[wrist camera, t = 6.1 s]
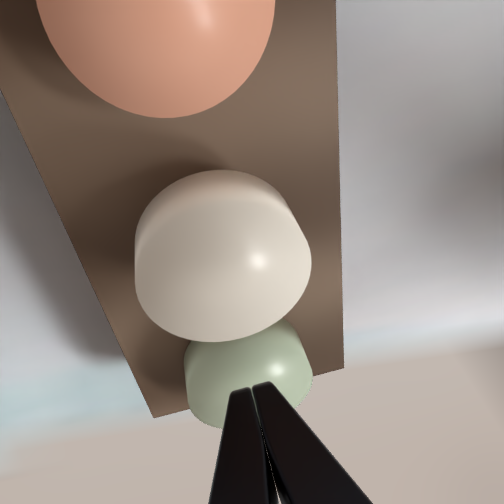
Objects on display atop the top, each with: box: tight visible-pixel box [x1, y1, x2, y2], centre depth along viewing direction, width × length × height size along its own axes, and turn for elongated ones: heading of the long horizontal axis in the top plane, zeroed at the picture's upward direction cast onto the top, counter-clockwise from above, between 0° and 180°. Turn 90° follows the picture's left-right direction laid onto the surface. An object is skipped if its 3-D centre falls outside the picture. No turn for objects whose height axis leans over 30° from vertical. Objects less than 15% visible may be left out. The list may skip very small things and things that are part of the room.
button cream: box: [135, 170, 311, 342], centre depth 12 cm, size 4×4×2 cm
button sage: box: [184, 318, 313, 429], centre depth 17 cm, size 4×4×2 cm
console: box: [0, 0, 344, 418], centre depth 15 cm, size 17×8×3 cm, turn 8°
